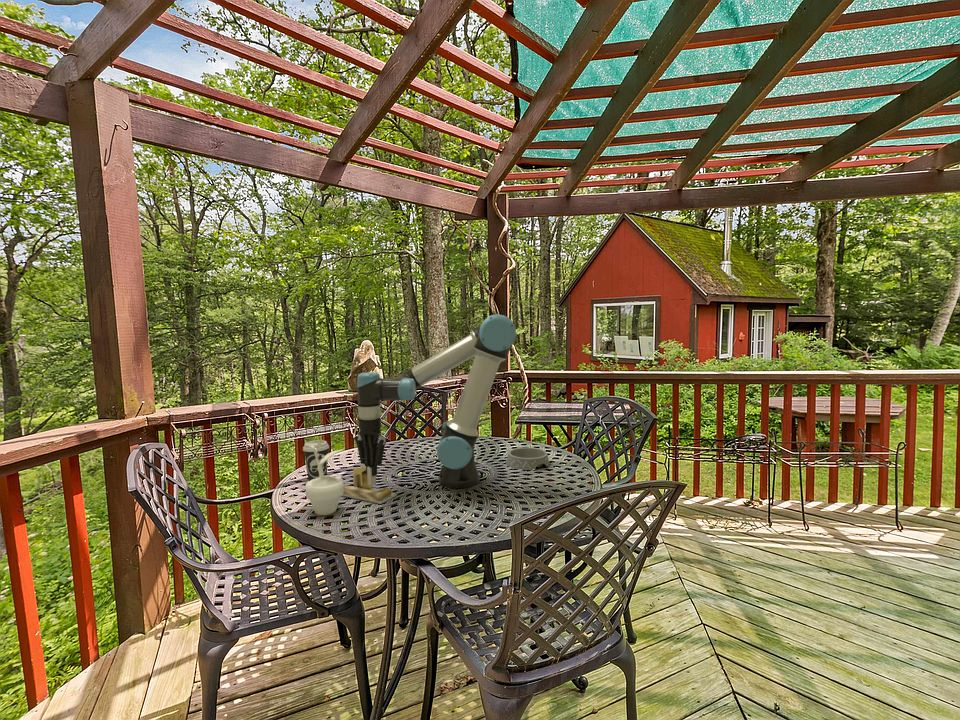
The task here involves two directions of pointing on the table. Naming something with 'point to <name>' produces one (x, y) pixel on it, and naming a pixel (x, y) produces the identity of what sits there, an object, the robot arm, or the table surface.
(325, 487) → the potted plant
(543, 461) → the dog bowl
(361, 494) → the beige flat bent piece
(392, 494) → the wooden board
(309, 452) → the coffee cup
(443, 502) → the table surface
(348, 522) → the table surface
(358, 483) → the sliding head
